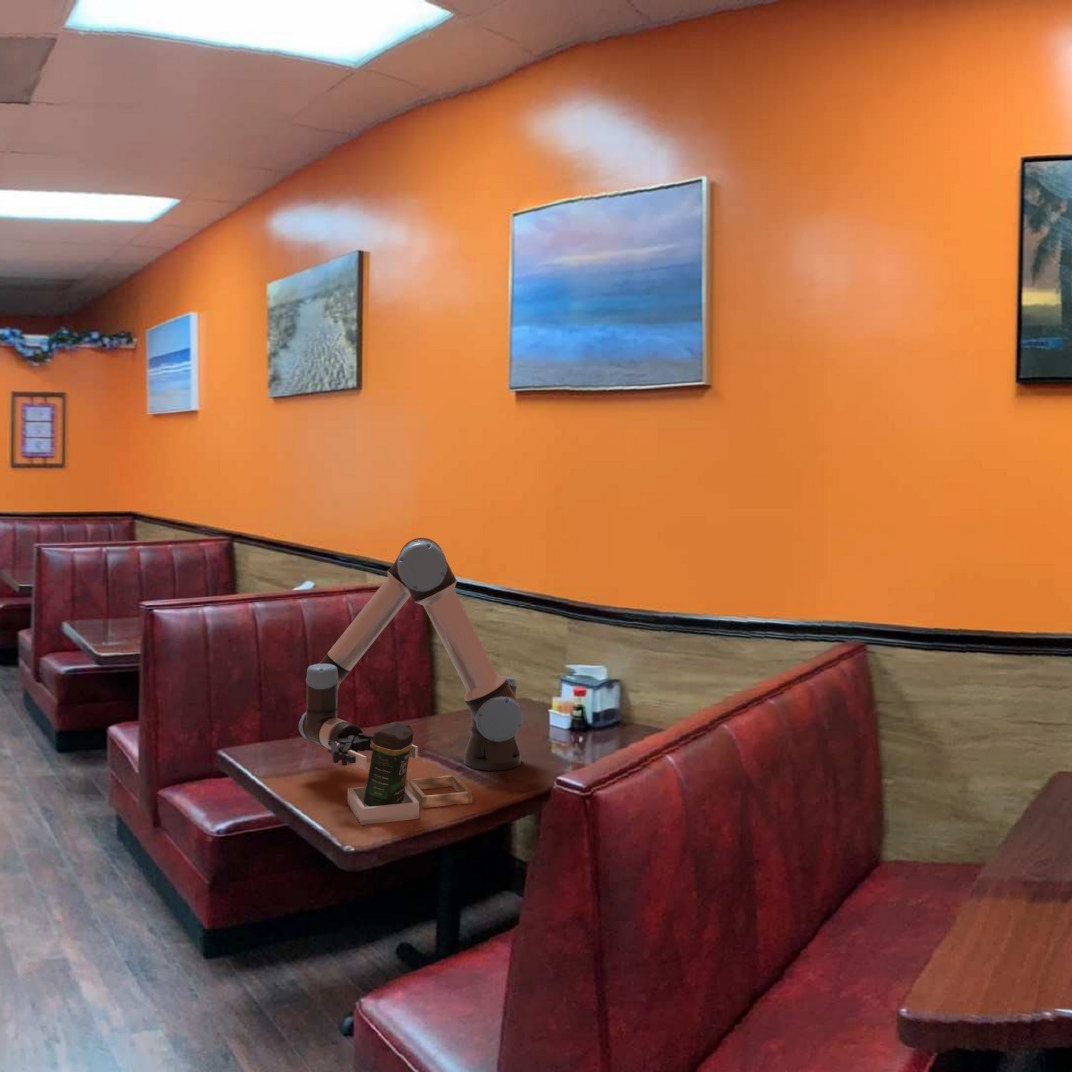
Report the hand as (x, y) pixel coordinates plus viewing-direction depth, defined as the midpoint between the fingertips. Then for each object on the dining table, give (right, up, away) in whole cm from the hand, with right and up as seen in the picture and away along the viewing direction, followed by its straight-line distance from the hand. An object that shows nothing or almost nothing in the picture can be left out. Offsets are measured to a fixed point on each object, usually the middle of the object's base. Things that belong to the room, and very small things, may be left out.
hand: (391, 757), depth 227 cm
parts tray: (-2, -13, +3) cm, 13 cm away
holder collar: (+9, -12, +14) cm, 21 cm away
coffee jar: (-2, -11, +3) cm, 12 cm away
